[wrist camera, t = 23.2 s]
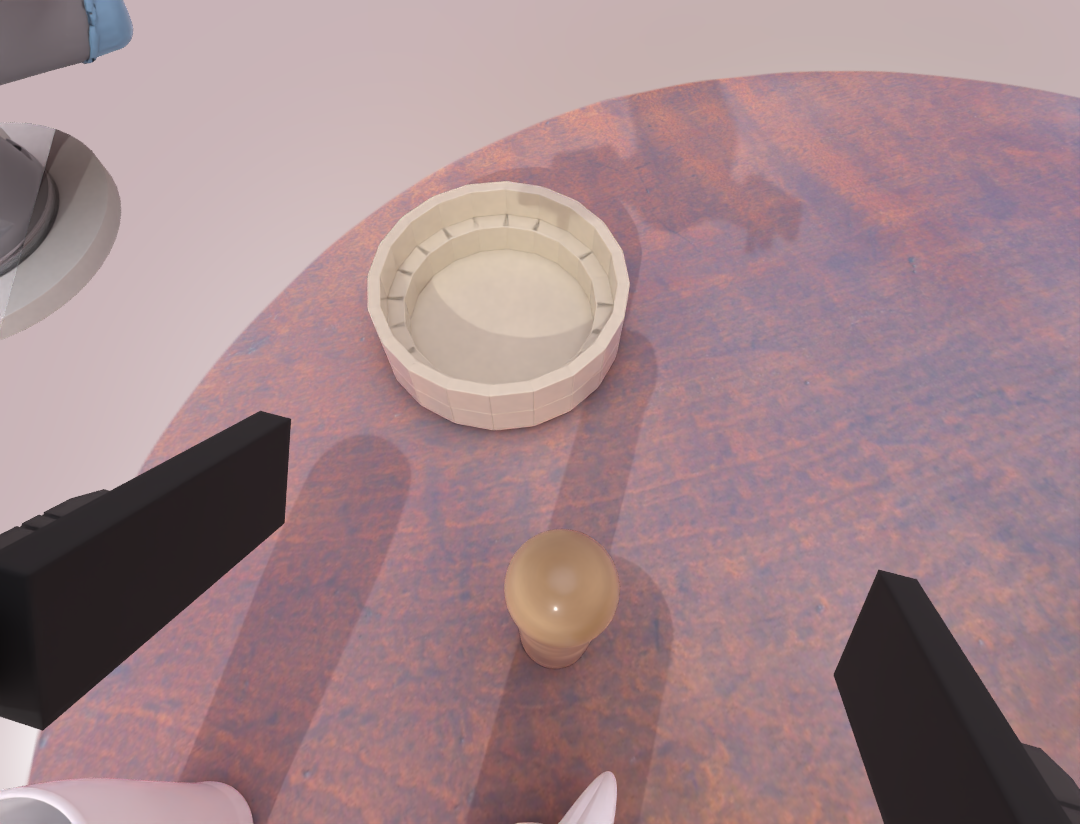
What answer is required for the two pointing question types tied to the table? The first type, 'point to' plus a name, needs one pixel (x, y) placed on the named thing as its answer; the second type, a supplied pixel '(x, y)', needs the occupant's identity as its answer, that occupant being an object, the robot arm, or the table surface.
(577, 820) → the mug
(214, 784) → the drinking glass
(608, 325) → the bowl
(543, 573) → the pestle
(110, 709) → the table surface
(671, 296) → the table surface
